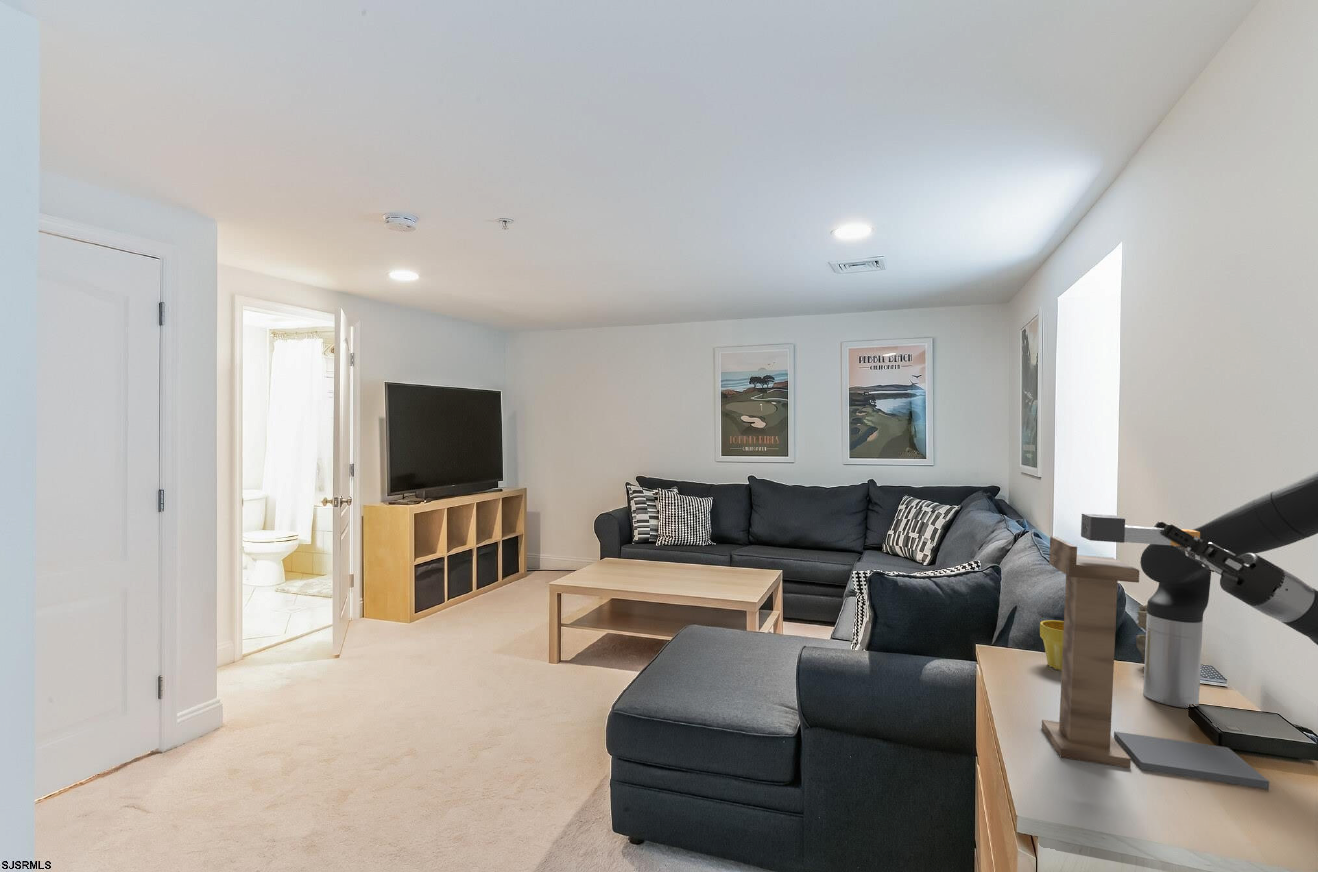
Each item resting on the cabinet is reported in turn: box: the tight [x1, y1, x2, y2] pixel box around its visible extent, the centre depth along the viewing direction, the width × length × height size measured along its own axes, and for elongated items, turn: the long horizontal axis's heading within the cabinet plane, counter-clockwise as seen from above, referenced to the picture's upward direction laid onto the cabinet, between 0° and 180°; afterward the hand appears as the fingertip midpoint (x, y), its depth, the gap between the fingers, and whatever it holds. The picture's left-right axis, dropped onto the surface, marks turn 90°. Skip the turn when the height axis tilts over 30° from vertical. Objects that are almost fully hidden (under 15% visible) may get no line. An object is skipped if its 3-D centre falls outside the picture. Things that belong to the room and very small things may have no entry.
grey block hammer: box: [1080, 513, 1200, 546], centre depth 115 cm, size 5×16×4 cm, turn 74°
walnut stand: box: [1041, 535, 1140, 769], centre depth 117 cm, size 12×10×35 cm
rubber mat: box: [1113, 731, 1270, 790], centre depth 113 cm, size 12×17×1 cm
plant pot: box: [1039, 619, 1064, 671], centre depth 159 cm, size 10×10×10 cm
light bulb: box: [1136, 604, 1147, 665], centre depth 161 cm, size 6×6×15 cm
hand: (1160, 527), depth 114 cm, fingers closed on grey block hammer, 3 cm apart
